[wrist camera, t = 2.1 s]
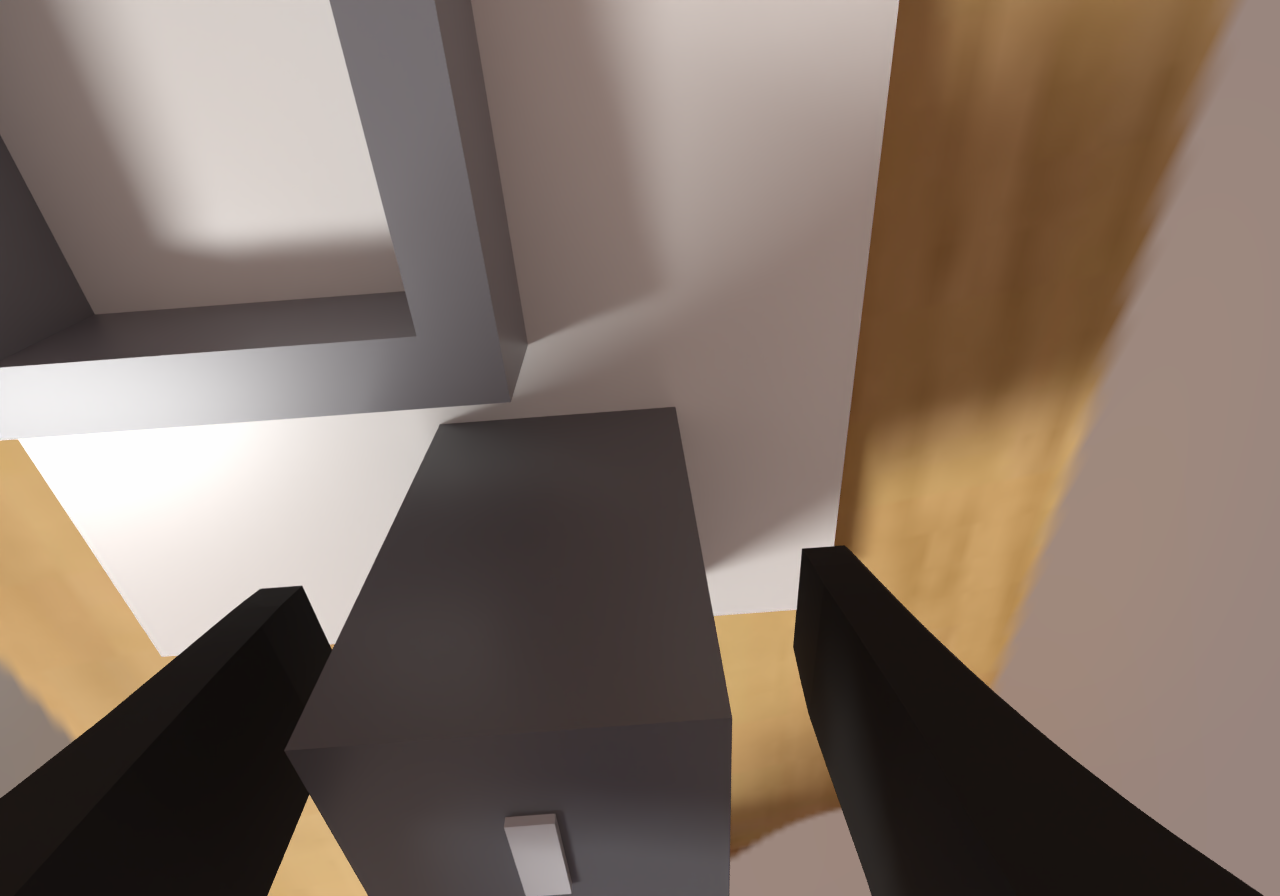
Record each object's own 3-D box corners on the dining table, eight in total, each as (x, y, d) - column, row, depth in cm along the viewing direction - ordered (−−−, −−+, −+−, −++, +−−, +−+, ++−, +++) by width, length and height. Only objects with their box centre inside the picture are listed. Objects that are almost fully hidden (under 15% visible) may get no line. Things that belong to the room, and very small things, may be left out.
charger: (682, 582, 13) (730, 936, 8) (484, 597, 13) (397, 961, 8) (675, 406, 11) (733, 727, 6) (439, 424, 11) (279, 760, 6)
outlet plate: (813, 574, 14) (858, 687, 12) (188, 621, 14) (95, 743, 12) (910, -384, 7) (1083, -641, 4) (-359, -285, 7) (-917, -485, 4)
